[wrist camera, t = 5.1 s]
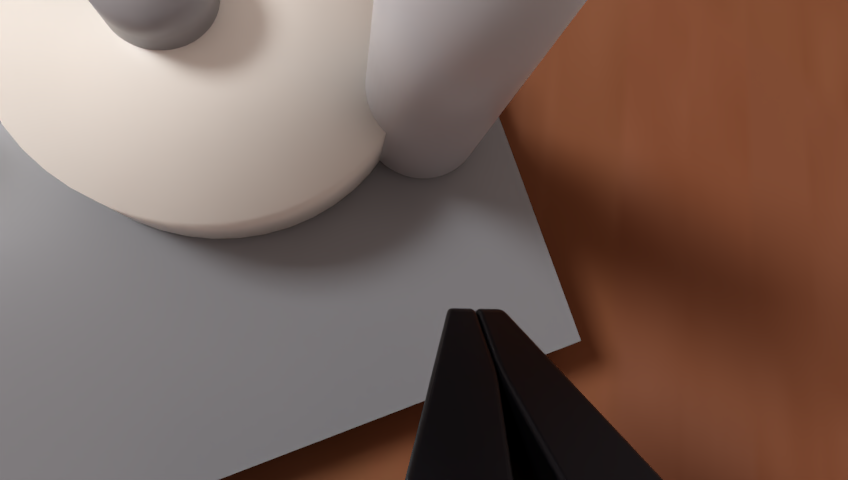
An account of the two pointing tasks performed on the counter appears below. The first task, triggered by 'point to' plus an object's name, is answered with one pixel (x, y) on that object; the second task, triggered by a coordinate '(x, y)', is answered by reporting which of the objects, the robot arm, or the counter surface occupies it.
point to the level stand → (246, 318)
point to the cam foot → (258, 98)
